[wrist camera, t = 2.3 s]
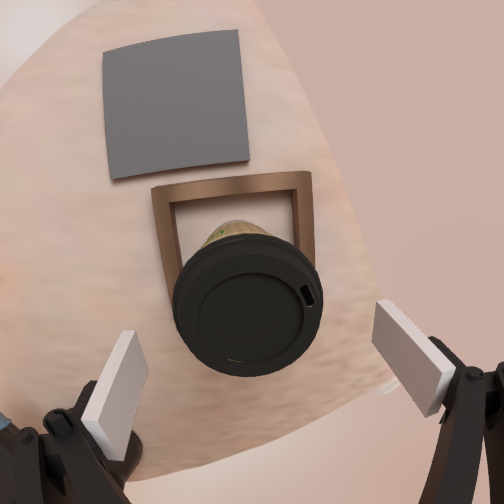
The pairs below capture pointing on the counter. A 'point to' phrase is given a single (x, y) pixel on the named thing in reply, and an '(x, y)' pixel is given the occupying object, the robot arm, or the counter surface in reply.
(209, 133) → the trivet mat
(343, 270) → the counter surface
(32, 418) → the counter surface
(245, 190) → the walnut collar
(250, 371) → the coffee cup
